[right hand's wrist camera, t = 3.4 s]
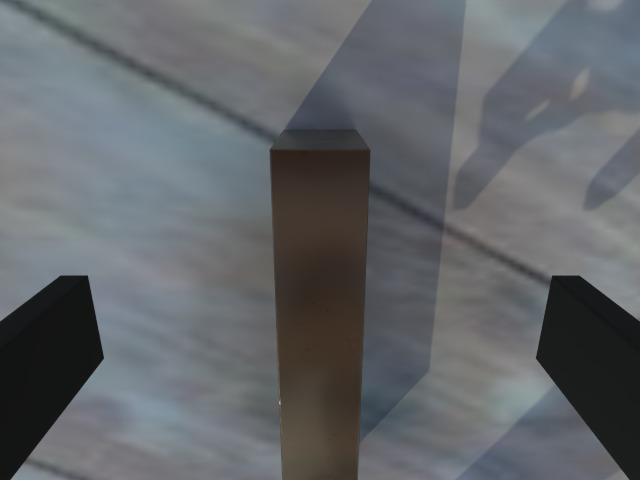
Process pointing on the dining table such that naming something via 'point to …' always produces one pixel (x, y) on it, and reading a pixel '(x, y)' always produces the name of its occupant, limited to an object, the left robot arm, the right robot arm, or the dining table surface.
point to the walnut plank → (320, 297)
